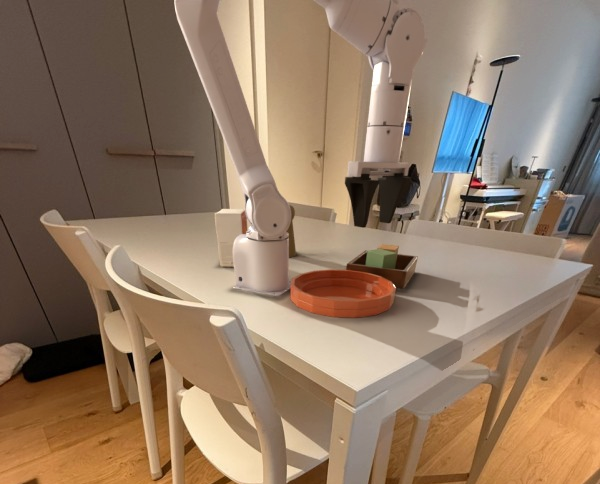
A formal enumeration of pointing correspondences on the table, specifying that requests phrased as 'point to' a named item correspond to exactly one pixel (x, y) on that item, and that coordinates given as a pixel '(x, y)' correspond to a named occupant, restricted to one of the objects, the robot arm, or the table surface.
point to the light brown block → (390, 248)
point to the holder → (396, 276)
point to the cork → (291, 234)
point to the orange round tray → (342, 293)
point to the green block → (381, 258)
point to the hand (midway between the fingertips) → (372, 224)
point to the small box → (229, 232)
